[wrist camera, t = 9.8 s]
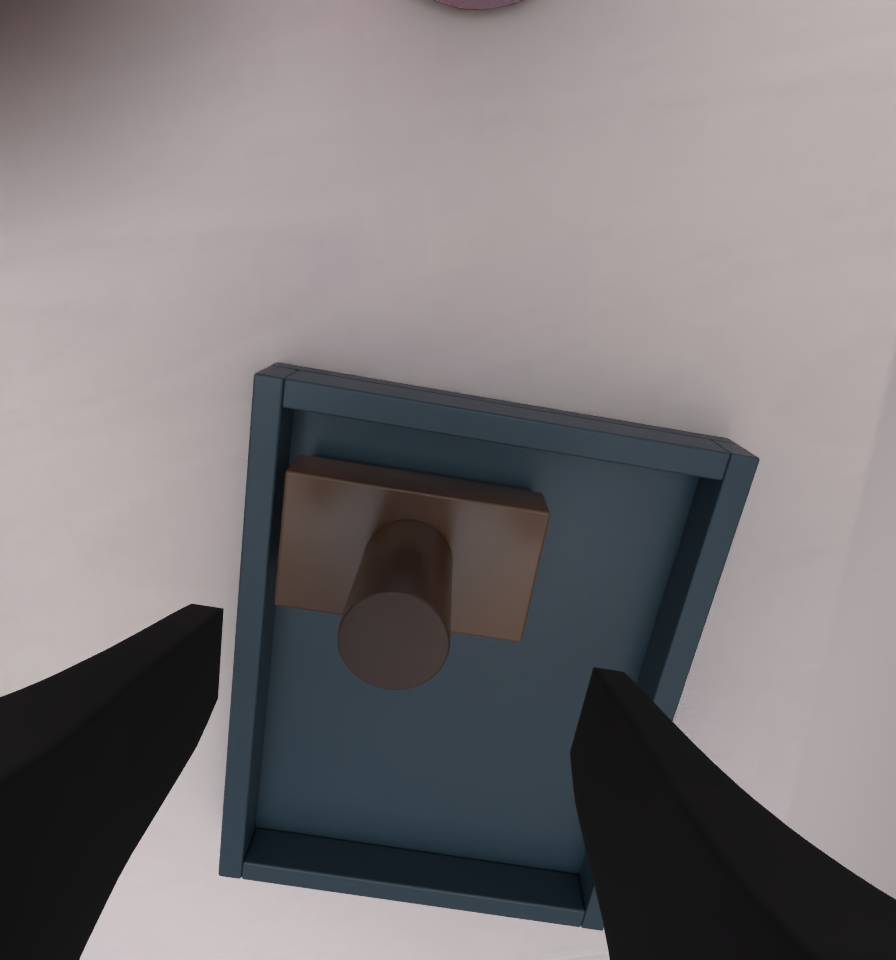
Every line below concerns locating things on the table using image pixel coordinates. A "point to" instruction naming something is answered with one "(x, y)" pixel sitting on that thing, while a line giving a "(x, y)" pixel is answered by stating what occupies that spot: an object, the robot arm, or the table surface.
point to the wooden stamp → (406, 561)
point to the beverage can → (477, 3)
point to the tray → (463, 650)
